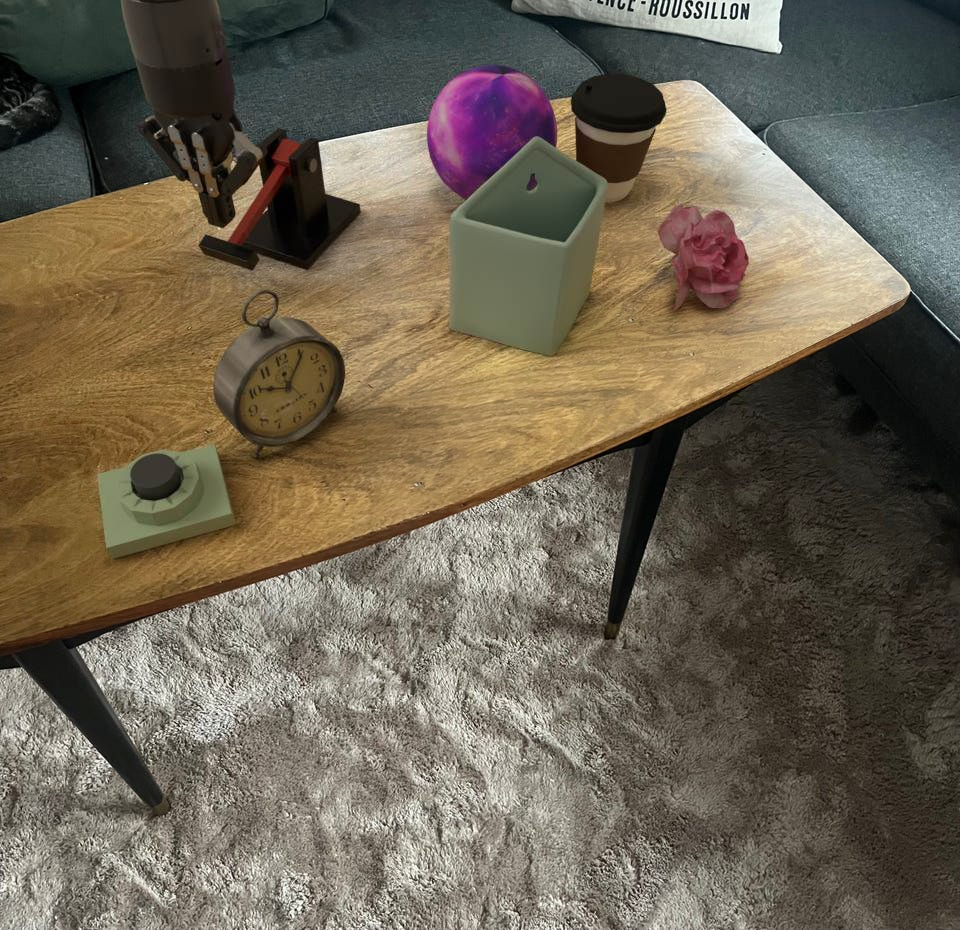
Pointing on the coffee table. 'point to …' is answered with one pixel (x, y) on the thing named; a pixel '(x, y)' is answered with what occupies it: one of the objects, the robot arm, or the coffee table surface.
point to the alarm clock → (278, 379)
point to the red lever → (251, 215)
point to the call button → (155, 476)
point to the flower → (704, 255)
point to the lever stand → (299, 208)
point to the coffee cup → (616, 127)
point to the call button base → (165, 504)
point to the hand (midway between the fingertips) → (222, 222)
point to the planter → (526, 250)
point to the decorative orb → (486, 125)
